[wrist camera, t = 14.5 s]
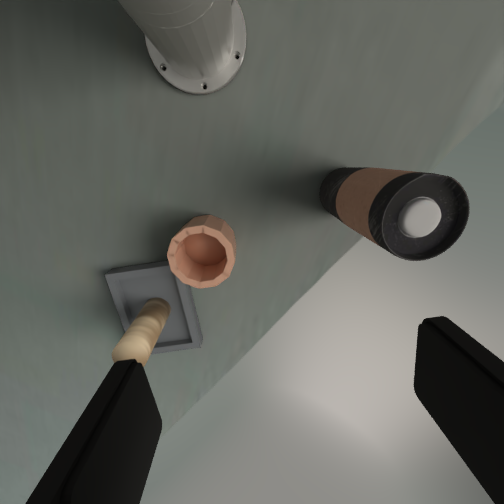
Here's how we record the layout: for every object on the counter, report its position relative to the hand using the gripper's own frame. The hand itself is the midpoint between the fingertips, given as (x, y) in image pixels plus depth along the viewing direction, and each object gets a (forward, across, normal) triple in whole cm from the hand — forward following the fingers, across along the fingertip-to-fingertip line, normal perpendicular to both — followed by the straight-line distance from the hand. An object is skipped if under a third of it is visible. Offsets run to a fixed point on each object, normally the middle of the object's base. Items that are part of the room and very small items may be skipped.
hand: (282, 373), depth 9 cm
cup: (+34, +8, +5) cm, 36 cm away
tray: (+34, +18, +15) cm, 42 cm away
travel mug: (+34, -14, 0) cm, 37 cm away
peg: (+33, +18, +15) cm, 41 cm away
